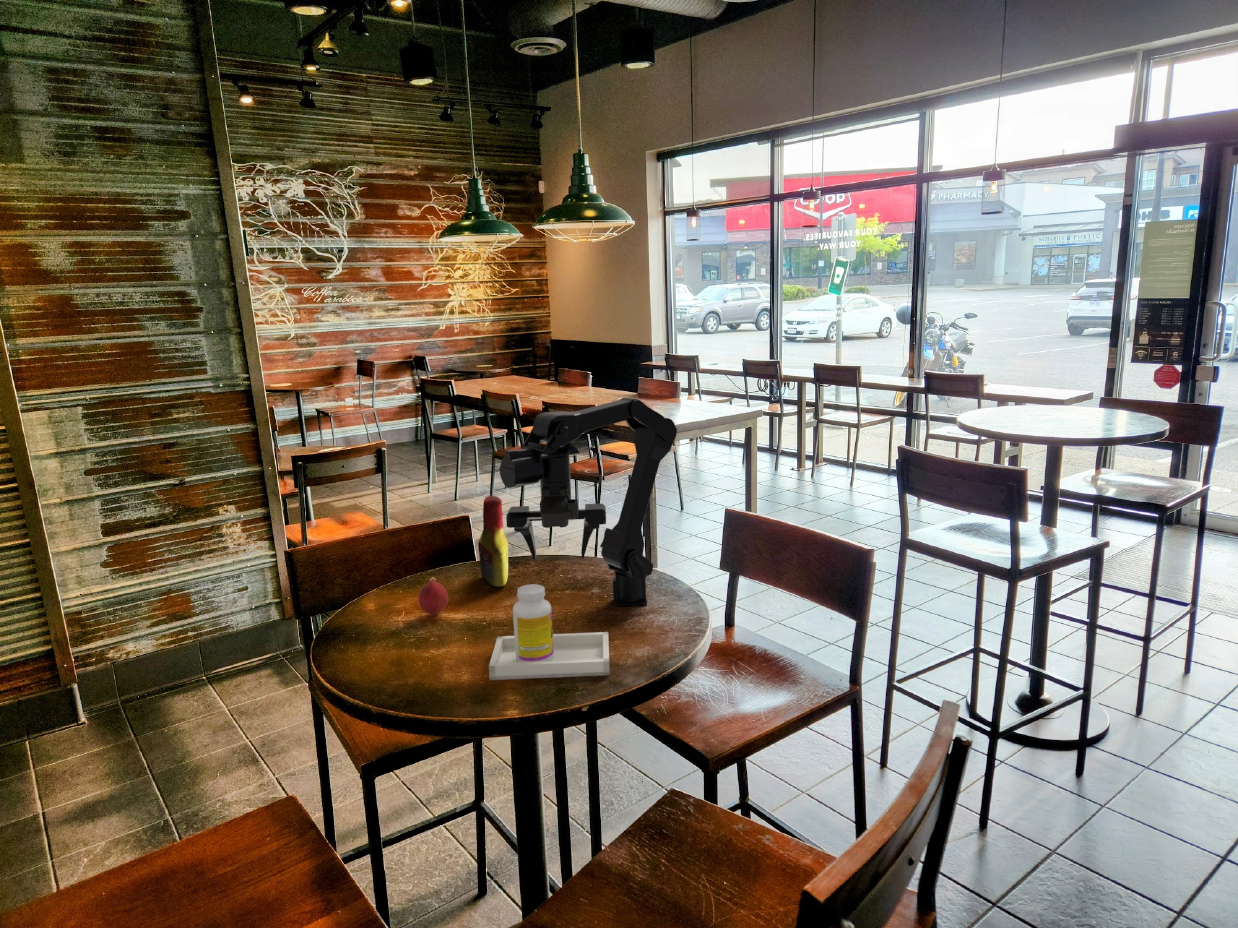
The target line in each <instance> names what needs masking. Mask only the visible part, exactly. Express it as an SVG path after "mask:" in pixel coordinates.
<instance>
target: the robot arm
mask: <svg viewBox="0 0 1238 928" xmlns="http://www.w3.org/2000/svg"><path fill="white" fill-rule="evenodd" d="M622 422H626V425H627V426H628V427H629V428H630V429H631V430H632V431H634V436H633V437H634V438H633V443H634V444H633V445H634V447H635V452H636V453H635V455H636V457H635V461H634V464H633V469H632V471H631V475H630V479H629V482H628V485H627V490H626V493H625V497H624V500H623V504H622V507H621V511H620V515H619V519H618V521H617V523H616V524H615V525H614V526H613V528H608V527H607V528H606V529H605V530H604V534H603V539H602V542H601V544H600V545H599V547H600V548H601V552H600V553H601V557H602V559H603V561H604V562H605V563H606V565H607V568H608V569H609V570H610V571H613V572H614V576H613V577H612V578H611V579H612V583H611V584H612V600H613V601H615V606H616V607H620V606H622V607H625V606H628V607H629V606H646V605H648V599H647V581H646V578H647V577H648V576H651V575H652V574H653V573H652V572H653V570H654V569H653V568H654V564H653V563H652V562H651V561H650V560H649V559H648V558H647V557H645V555H644V547H645V542H644V541H645V540H644V536H643V531H642V529H643V525H644V520H645V517H646V514H647V509H648V506H649V503H650V498H651V495H652V492H653V488H654V484H655V481H656V477H657V473H658V470H659V466H660V463H661V462H662V460H664V458H665V457H666V456H667V454H669V452H670V451H671V450H672V447H673V445H674V442H675V440H676V438H677V433H678V428H677V427H676V424H675V422H674V421H673V420H672V419H671V418H668V417H665V416H663V415H662V414H661V413H659V412H658V411H656V410H654V409H652V408H651V407H649V406H647V405H646V403H644V401H642V400H640V399H639V398H633V397H622V398H620V399H619V400H618V399H617V400H615V401H610V402H607V403H603V404H599V405H596V406H595V405H594V406H591V407H588V408H584V409H580V410H576V411H549V412H548V411H547V412H546V411H544V412H541V413H539V414H537V415H536V416H535V419H534V421H533V425H532V429H530V431H529V434H528V436H527V437H526V439H525V441H524V443H523V444H522V445H521V449H506V450H504V457H503V458H502V459H501V462H500V466H499V475H500V479H501V482H502V483H503V485H504V487H505V488H507V489H511V488H517V487H521V486H527V485H533V484H537V483H539V484H540V485H539V486H540V501H539V510H531V509H530V506H529V505H525V506H524V505H522V506H510V508H509V509H508V510H507V513H506V516H505V517H506V518H505V520H506V528H508V529H510V528H511V529H513V531H514V532H516V533H517V532H519V533H520V534H521V536H522V537H523V539H524V540H525V542H526V544H527V547H528V550H529V552H530V554H531V557H532V559H533V560H534V561H536V560H537V547H536V541H535V534H534V527H533V523H532V522H537V521H539V522H540V521H541V526H542V528H545V529H550V528H555V527H556V528H558V527H560V528H566V527H568V525H569V520H571V521H572V520H574V521H575V520H584V521H583V529H582V530H583V531H582V540H581V541H582V542H581V550H580V551H581V559H584V558H585V556H586V555H585V554H586V551H587V547H588V545H589V541H590V538H591V536H592V534H593V532H594V530H596V529H599V528H600V525H607V512H606V511H607V509H606V505H604V504H603V503H585V504H584V508H583V509H582V508H581V509H580V508H579V501H578V500H579V499H577V498H572V488H571V487H572V486H571V485H572V484H571V464H570V463H571V462H570V456H573V455H577V454H579V453H580V450H579V448H577V447H576V446H574V445H573V443H572V442H574V441H575V440H578V439H579V438H580V437H581V436H582V435H583V434H584V433H587V432H589V431H593V430H596V429H601V428H604V427H607V426H610V425H614V424H618V423H622ZM544 443H545V444H544Z"/></svg>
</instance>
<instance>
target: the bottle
mask: <svg viewBox="0 0 1238 928" xmlns="http://www.w3.org/2000/svg"><path fill="white" fill-rule="evenodd" d="M482 507H483V508H482V519H483V520H482V522H483V523H482V524H483V526H482V527H483V529H482V532H481V534H480V537H479V540H478V542H477V544H478V546H477V547H478V555H479V562H480V563H479V565H480V573H481V576H482V578H483V579H484V580H485V582H486V583H487V584H488V585H490V586H492V587H498V588H499V587H504V586H505V585H506V584H507V581H508V578H509V577H508V576H509V542H508V539H507V538H506V535H505V531H504V520H503V518H504V517H503V514H504V513H503V501H502V499H501V498H500V497H498V496H496V495H489V496H488V495H487V497H485V498H484V500H483V506H482Z"/></svg>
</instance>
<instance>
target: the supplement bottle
mask: <svg viewBox="0 0 1238 928" xmlns="http://www.w3.org/2000/svg"><path fill="white" fill-rule="evenodd" d="M545 588H546V587H544V586H543V585H542V584H535V583H533V584H532V583H531V584H525V585H524V584H523V585H521V586H519V587H518V588H517V591H516V592H517V593H516V595H517V599H518V601H517V602H516V603H515V604H514V605H513V606H512V618H513V622H512V623H513V636H514V638H515V654H516V660H517V661H518V662H538V661H550V660H551V659H552V658H553V656H554V646H553V634H554V631H553V615H552V614H553V613H552V605H551V603H550V601H548V600H547V599H545V595H546V589H545Z"/></svg>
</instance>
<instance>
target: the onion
mask: <svg viewBox="0 0 1238 928" xmlns="http://www.w3.org/2000/svg"><path fill="white" fill-rule="evenodd" d="M448 602H449V592H448V591H447V588H445V586H443V585H442V584H441V583H439V582H437V579H436V578H435V577H431V578H430V579H429V581H428V582H427V583H426V584H425V585H423V587H422V588H421V590H420V592H419V595H418V605H419V606H420V608H421V609H422V611H424V612H425V613H427V614H428V615H432V617H433V616H435V617H436V616H438V615H439V614H440V613H441V612H442V611H443V610H444V609H445V608H446V607H447V605H448Z"/></svg>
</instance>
